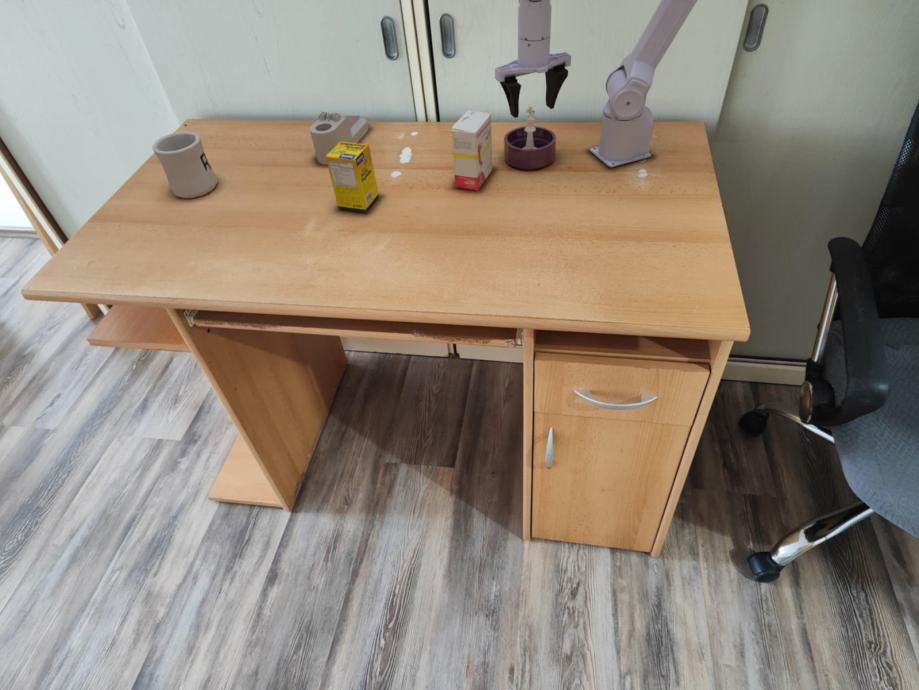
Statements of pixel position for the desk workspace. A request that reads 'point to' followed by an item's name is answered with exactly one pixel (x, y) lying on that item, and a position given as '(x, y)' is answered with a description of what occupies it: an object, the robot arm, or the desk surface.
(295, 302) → the desk surface
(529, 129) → the chess piece
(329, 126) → the angled bracket with hole
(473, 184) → the ink box
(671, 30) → the robot arm
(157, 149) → the mug
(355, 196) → the supplement box
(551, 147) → the bowl
